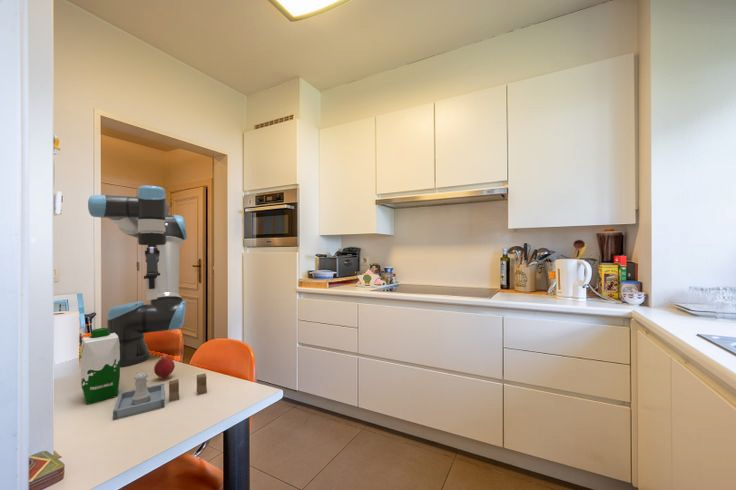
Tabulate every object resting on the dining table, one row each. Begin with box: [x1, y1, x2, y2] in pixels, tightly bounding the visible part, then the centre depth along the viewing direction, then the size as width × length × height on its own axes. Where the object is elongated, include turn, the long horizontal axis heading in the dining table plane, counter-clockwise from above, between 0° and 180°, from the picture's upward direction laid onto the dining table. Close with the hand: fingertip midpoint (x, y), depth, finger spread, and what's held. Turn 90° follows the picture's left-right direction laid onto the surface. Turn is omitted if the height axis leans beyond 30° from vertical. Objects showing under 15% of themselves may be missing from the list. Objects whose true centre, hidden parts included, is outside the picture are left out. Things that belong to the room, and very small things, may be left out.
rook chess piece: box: [131, 371, 151, 405], centre depth 88 cm, size 4×4×8 cm
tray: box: [112, 383, 165, 421], centre depth 88 cm, size 13×11×2 cm
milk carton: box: [80, 327, 121, 405], centre depth 93 cm, size 9×9×20 cm
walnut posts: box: [168, 373, 208, 403], centre depth 92 cm, size 3×10×5 cm, turn 123°
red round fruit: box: [153, 354, 176, 379], centre depth 106 cm, size 6×6×8 cm
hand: (152, 297), depth 101 cm, fingers open, 13 cm apart
